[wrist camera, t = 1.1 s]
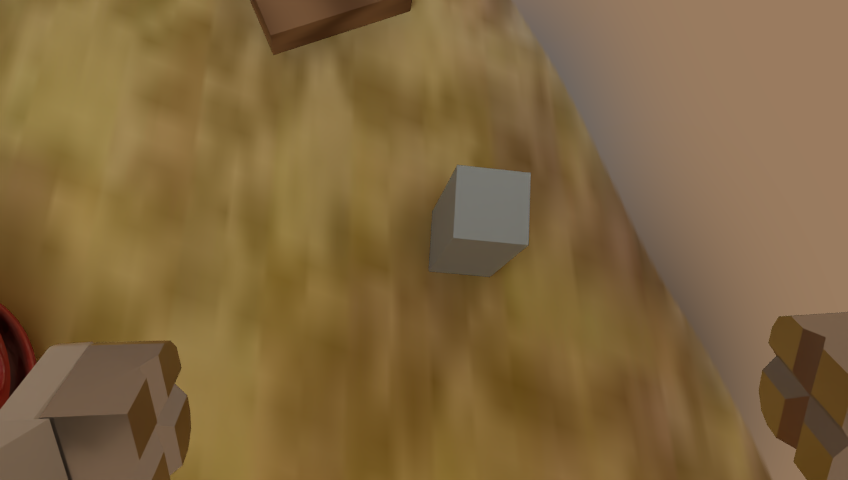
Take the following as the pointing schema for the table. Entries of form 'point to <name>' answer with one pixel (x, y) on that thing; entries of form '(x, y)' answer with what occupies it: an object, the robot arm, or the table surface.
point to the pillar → (480, 221)
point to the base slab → (319, 18)
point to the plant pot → (13, 354)
